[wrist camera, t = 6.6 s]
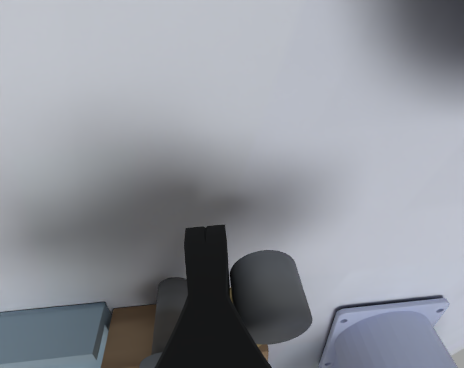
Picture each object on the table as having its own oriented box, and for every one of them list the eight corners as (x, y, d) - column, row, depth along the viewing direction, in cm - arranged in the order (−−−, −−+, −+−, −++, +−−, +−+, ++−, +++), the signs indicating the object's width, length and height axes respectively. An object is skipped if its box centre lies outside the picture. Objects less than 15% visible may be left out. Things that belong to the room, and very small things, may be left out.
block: (255, 362, 26) (263, 420, 23) (145, 374, 26) (139, 436, 22) (259, 269, 18) (272, 338, 15) (101, 284, 18) (82, 359, 15)
